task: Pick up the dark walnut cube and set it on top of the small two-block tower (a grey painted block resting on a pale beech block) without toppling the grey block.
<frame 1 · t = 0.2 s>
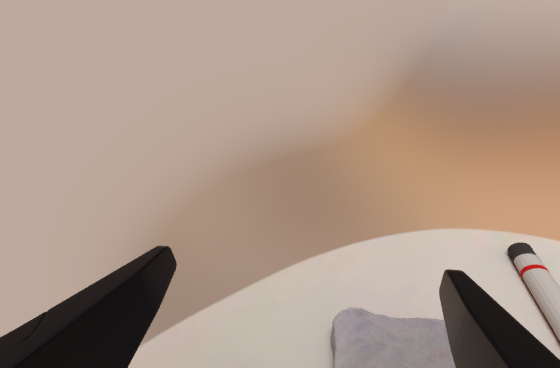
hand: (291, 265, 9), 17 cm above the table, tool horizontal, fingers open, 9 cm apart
marker: (558, 328, 22), on the table
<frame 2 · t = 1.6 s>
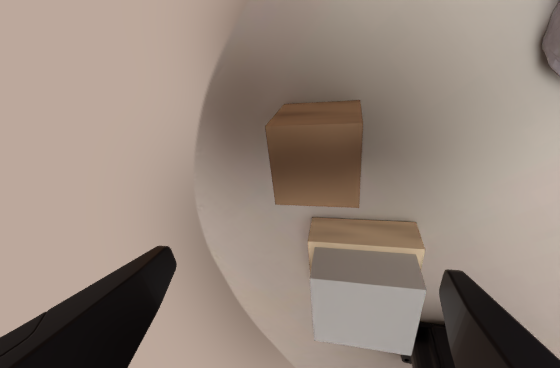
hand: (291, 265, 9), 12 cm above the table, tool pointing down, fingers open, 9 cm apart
grey block: (361, 283, 21), point 3 cm above the table, touching beech base block
walnut cube: (321, 137, 19), on the table
beech base block: (360, 256, 24), on the table
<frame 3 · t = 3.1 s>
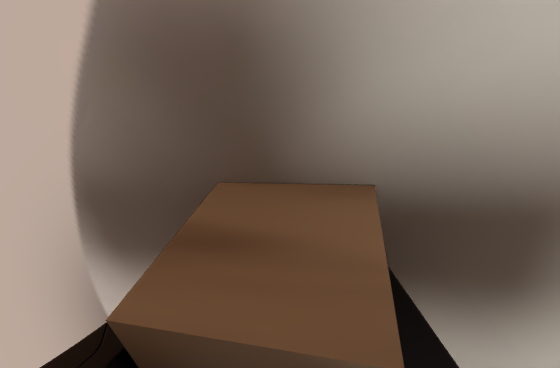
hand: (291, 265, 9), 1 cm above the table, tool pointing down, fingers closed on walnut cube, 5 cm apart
walnut cube: (296, 243, 10), on the table, touching gripper
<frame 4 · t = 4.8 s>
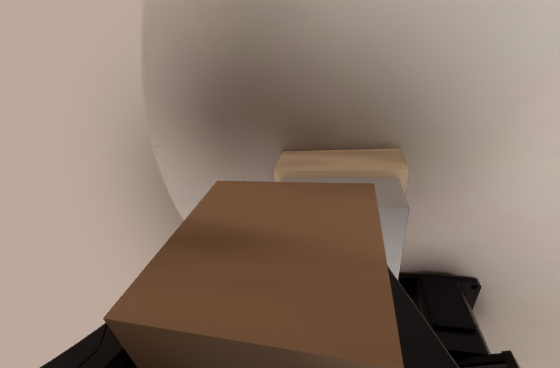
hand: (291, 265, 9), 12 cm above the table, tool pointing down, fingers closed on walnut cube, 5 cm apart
grey block: (337, 222, 18), point 3 cm above the table, touching beech base block
walnut cube: (296, 242, 10), point 11 cm above the table, touching gripper
beech base block: (338, 197, 21), on the table
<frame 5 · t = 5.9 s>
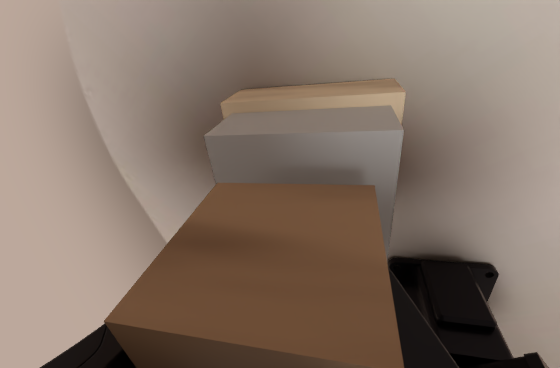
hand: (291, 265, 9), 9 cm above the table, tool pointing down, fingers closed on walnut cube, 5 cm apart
grey block: (310, 178, 14), point 3 cm above the table, touching beech base block
walnut cube: (296, 243, 10), point 8 cm above the table, touching gripper
beech base block: (315, 154, 16), on the table
when the fingers open (8 cm above the table, at t = 6.5 s): walnut cube stays where it is, resting on grey block.
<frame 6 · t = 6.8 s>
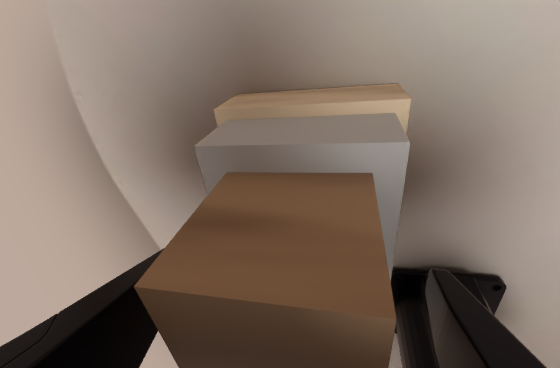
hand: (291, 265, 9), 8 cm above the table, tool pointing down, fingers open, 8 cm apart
grey block: (308, 189, 13), point 3 cm above the table, touching beech base block, walnut cube
walnut cube: (300, 230, 10), point 6 cm above the table, touching grey block
beech base block: (315, 161, 15), on the table
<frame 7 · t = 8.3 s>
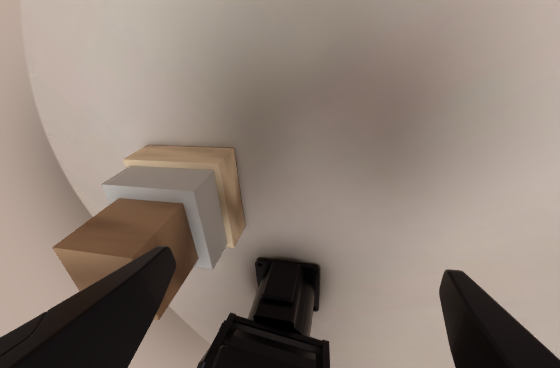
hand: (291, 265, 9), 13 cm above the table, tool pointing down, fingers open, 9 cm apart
grey block: (181, 206, 22), point 3 cm above the table, touching beech base block, walnut cube
walnut cube: (160, 229, 19), point 6 cm above the table, touching grey block
beech base block: (198, 187, 24), on the table
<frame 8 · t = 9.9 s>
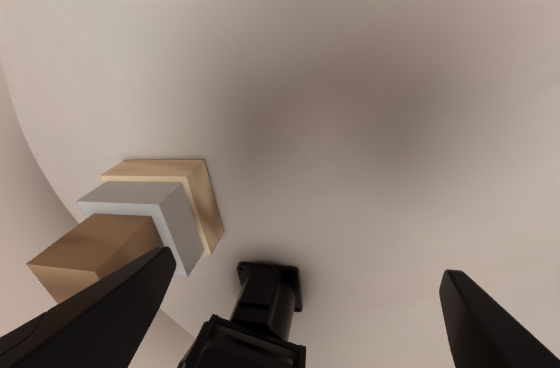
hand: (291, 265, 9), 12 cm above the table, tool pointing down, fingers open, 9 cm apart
grey block: (157, 217, 23), point 3 cm above the table, touching beech base block, walnut cube
walnut cube: (134, 240, 21), point 6 cm above the table, touching grey block
beech base block: (176, 197, 26), on the table
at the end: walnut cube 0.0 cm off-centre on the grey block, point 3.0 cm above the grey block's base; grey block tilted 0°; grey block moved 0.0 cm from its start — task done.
